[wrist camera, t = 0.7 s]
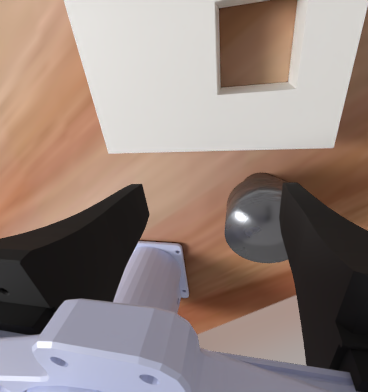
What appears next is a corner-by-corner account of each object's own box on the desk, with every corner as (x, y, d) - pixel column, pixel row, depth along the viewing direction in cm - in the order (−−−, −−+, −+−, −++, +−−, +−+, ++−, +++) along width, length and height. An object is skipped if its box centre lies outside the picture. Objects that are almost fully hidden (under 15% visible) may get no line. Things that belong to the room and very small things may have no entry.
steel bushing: (289, 215, 22) (303, 266, 17) (228, 213, 23) (225, 260, 18) (298, 160, 19) (318, 201, 14) (228, 161, 20) (224, 199, 15)
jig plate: (320, 133, 18) (333, 148, 15) (124, 140, 21) (108, 153, 19) (371, -115, 11) (407, -159, 9) (78, -44, 15) (46, -61, 12)
